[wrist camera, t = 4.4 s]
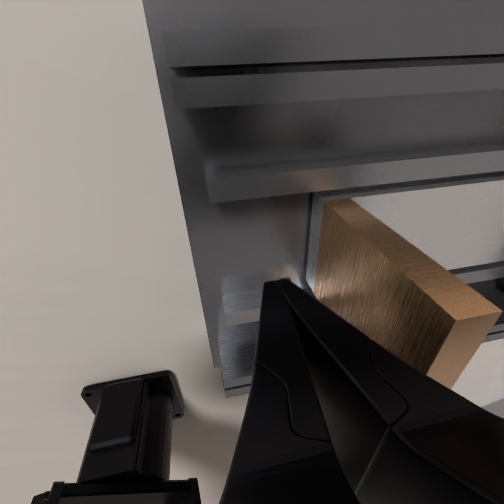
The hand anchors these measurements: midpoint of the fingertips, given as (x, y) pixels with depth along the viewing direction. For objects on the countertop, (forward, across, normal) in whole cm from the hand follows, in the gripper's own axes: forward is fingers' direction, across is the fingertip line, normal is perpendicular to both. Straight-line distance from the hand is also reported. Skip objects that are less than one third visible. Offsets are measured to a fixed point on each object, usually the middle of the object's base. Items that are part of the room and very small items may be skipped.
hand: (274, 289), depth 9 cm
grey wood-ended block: (+3, -9, 0) cm, 10 cm away
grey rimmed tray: (+7, -8, 0) cm, 11 cm away
